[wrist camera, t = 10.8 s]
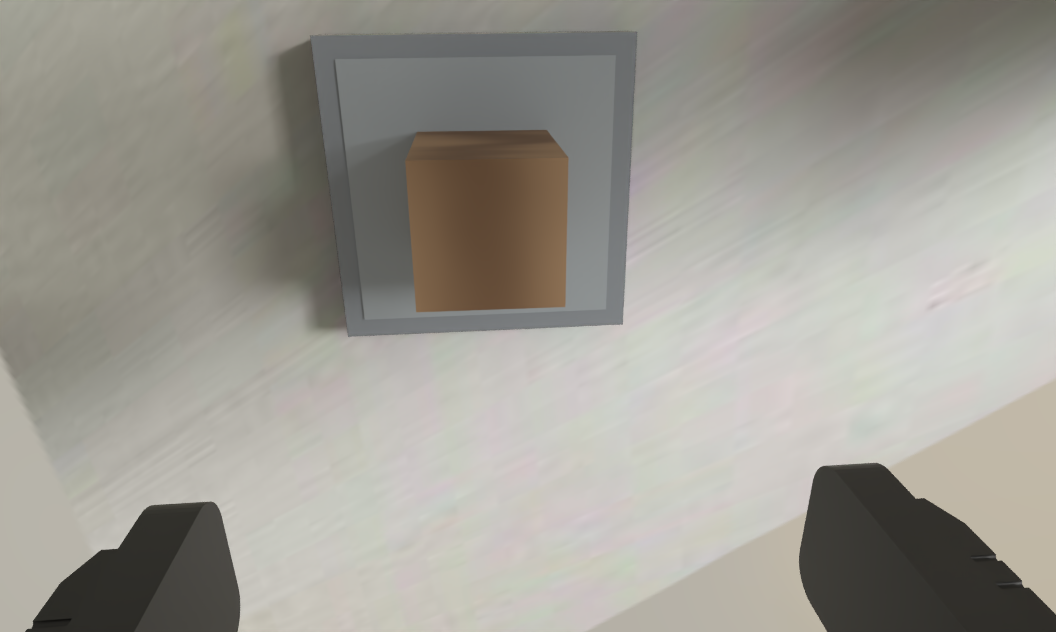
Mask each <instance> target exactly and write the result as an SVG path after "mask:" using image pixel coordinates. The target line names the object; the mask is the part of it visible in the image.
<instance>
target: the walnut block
mask: <svg viewBox="0 0 1056 632" xmlns="http://www.w3.org/2000/svg"><path fill="white" fill-rule="evenodd" d="M568 161H569V158H568V156H567V155H566V154H565V152H564V151H563V150H562V149H561V147H560V146H559V145H558V144H557V142H556V141H555V140H554V138H553V137H552V136H551V135H550V133H549V132H548V131H547V130H500V131H433V132H417V134H416V136H415V138H414V141H413V143H412V146H411V148H410V150H409V153H408V155H407V158H406V160H405V165H406V179H407V193H408V206H409V220H410V234H411V248H412V261H413V275H414V289H415V303H416V312H442V311H470V310H498V309H526V308H554V307H565V304H566V256H567V209H568Z"/></svg>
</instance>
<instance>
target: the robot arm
mask: <svg viewBox="0 0 1056 632" xmlns="http://www.w3.org/2000/svg"><path fill="white" fill-rule="evenodd" d="M799 567H800V574H801V579H802V583H803V587H804V589H805V593H806V595H807V597H808V599H809V601H810V603H811V605H812V607H813V608H814V610H815V612H816V613H817V615H818V616H819V618H820V620H821V622H822V624H823V625H824V627H825V629H826V630H827V632H1056V615H1055V613H1054V612H1053V611H1052V610H1051V609H1050V608H1049V607H1048V606H1047V605H1046V604H1045V603H1044V602H1043V601H1042V600H1041V599H1040V598H1039V597H1038V596H1037V595H1036V594H1035V593H1034V592H1033V591H1032V590H1031V589H1030V588H1024V587H1023V585H1022V580H1021V579H1020V578H1019V577H1018V576H1017V575H1016V574H1015V573H1014V572H1013V571H1012V570H1011V569H1010V568H1009V567H1008V566H1007V565H1006V564H1005V563H1004V562H1003V561H997V559H996V554H995V553H994V552H993V551H992V550H991V549H990V548H989V547H988V546H987V545H986V544H985V543H984V542H983V541H982V540H981V539H980V538H979V537H978V536H977V535H976V534H975V533H974V532H973V531H972V530H971V529H970V528H969V527H968V526H967V525H966V524H965V523H963V522H962V521H960V520H958V519H957V518H955V517H954V516H952V515H950V514H949V513H947V512H946V511H944V510H942V509H941V508H939V507H937V506H936V505H934V504H933V503H931V502H929V501H928V500H926V499H924V498H923V499H922V498H921V499H915V497H914V496H913V495H912V494H911V493H910V492H909V491H908V490H907V489H906V488H905V487H904V486H903V485H902V484H901V483H900V482H899V481H898V479H897V478H896V477H895V476H894V475H893V474H892V473H891V472H890V471H889V470H888V469H887V468H886V467H885V466H883V465H881V464H878V463H865V464H849V465H832V466H822V467H820V468H819V469H818V470H817V472H816V474H815V476H814V479H813V484H812V489H811V494H810V500H809V505H808V510H807V516H806V521H805V526H804V532H803V538H802V542H801V548H800V555H799ZM239 618H240V595H239V589H238V584H237V580H236V576H235V572H234V567H233V563H232V559H231V555H230V550H229V546H228V542H227V538H226V533H225V529H224V525H223V521H222V516H221V513H220V510H219V508H218V507H217V505H216V504H215V503H214V502H197V503H181V504H164V505H152V506H149V507H147V508H146V509H145V510H144V511H143V512H142V514H141V515H140V516H139V518H138V519H137V521H136V522H135V524H134V525H133V527H132V528H131V530H130V531H129V533H128V535H127V536H126V538H125V539H124V541H123V542H122V544H121V545H120V547H119V548H118V549H110V550H101V551H99V552H98V553H97V554H96V555H94V556H93V557H92V558H91V559H89V560H88V561H87V562H86V563H85V564H83V565H82V566H81V567H80V568H78V569H77V570H76V571H75V572H73V573H72V574H71V575H70V576H69V577H67V578H66V579H65V580H64V581H62V582H61V583H60V584H59V586H58V587H57V589H56V590H55V592H54V593H53V594H52V596H51V597H50V598H49V600H48V601H47V602H46V604H45V605H44V607H43V608H42V609H41V611H40V612H39V614H38V615H37V616H36V618H35V619H34V620H33V627H32V629H27V630H26V631H25V632H237V631H238V626H239Z"/></svg>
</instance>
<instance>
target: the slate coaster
mask: <svg viewBox="0 0 1056 632" xmlns="http://www.w3.org/2000/svg"><path fill="white" fill-rule="evenodd" d="M310 37H311V45H312V53H313V61H314V69H315V77H316V85H317V93H318V101H319V109H320V117H321V125H322V133H323V141H324V149H325V157H326V165H327V173H328V180H329V188H330V196H331V204H332V212H333V220H334V228H335V236H336V244H337V252H338V260H339V268H340V276H341V284H342V292H343V300H344V308H345V316H346V324H347V331H348V337H352V336H374V335H396V334H419V333H441V332H463V331H486V330H508V329H530V328H553V327H575V326H597V325H620V324H623V307H624V287H625V267H626V247H627V227H628V207H629V187H630V167H631V146H632V126H633V106H634V86H635V66H636V46H637V32H632V31H594V32H508V33H422V34H335V35H311V36H310ZM500 130H547V131H548V132H549V133H550V135H551V136H552V137H553V138H554V140H555V141H556V142H557V144H558V145H559V146H560V147H561V149H562V150H563V151H564V152H565V154H566V155H567V156H568V158H569V161H568V209H567V256H566V304H565V307H554V308H526V309H498V310H470V311H442V312H416V303H415V289H414V275H413V261H412V248H411V234H410V220H409V206H408V193H407V179H406V165H405V160H406V158H407V155H408V153H409V150H410V148H411V146H412V143H413V141H414V138H415V136H416V134H417V132H433V131H500Z"/></svg>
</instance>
